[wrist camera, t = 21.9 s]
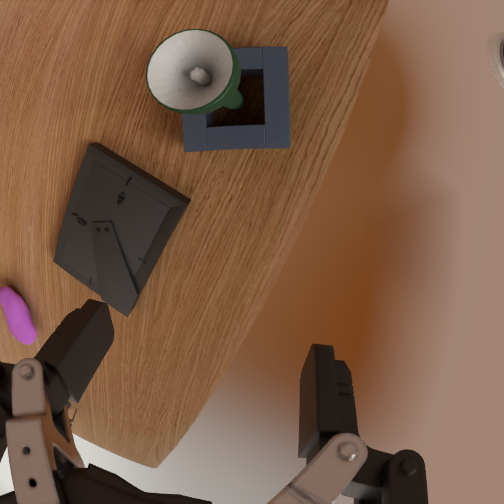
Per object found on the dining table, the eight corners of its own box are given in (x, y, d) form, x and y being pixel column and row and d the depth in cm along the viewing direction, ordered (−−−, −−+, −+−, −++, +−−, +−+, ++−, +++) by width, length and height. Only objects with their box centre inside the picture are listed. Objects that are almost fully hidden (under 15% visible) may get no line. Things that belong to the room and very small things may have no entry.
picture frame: (134, 307, 45) (191, 199, 37) (127, 317, 42) (185, 205, 34) (60, 256, 42) (97, 142, 34) (50, 263, 39) (86, 144, 31)
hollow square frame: (285, 56, 29) (287, 46, 24) (287, 144, 33) (290, 148, 29) (192, 62, 29) (179, 54, 25) (195, 148, 34) (184, 152, 29)
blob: (6, 273, 45) (-9, 285, 41) (40, 297, 46) (26, 311, 42) (11, 320, 51) (0, 331, 46) (44, 342, 52) (33, 356, 48)
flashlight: (245, 129, 33) (209, 128, 14) (207, 112, 32) (129, 96, 14) (265, 92, 31) (253, 45, 12) (226, 75, 30) (169, 17, 12)
